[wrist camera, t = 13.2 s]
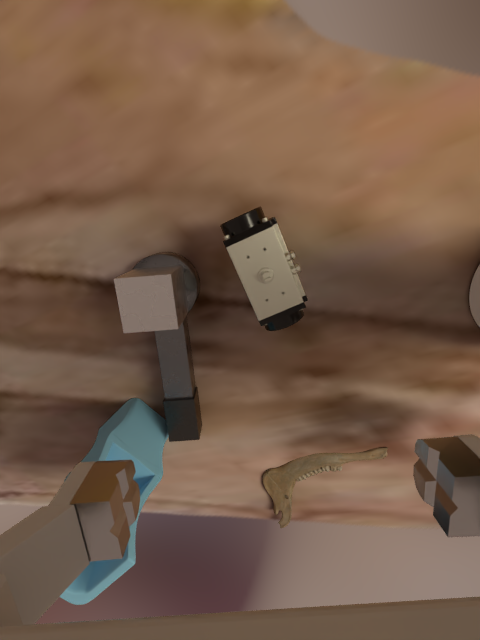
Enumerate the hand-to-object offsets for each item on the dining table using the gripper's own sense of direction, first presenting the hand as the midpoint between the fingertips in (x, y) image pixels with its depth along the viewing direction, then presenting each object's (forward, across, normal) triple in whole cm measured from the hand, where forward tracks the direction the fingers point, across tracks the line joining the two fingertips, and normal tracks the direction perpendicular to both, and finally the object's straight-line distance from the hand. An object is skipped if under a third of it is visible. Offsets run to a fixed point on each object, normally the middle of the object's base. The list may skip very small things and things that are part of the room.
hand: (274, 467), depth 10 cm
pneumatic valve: (+34, -2, -2) cm, 34 cm away
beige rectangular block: (+31, +10, 0) cm, 32 cm away
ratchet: (+34, +10, +8) cm, 36 cm away
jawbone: (+35, -10, +32) cm, 48 cm away
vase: (+34, +17, +20) cm, 44 cm away
